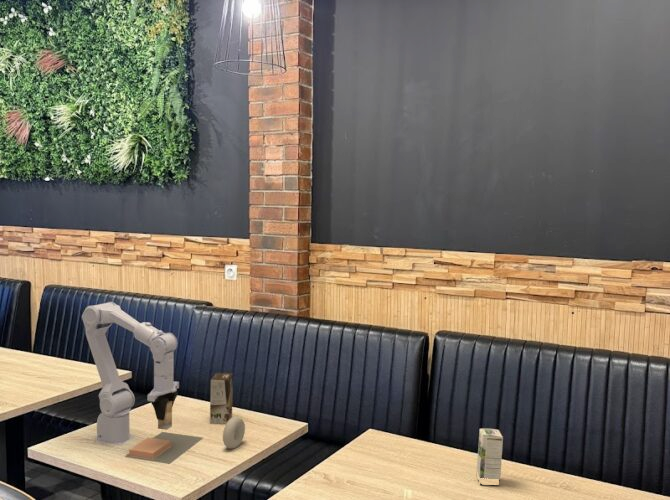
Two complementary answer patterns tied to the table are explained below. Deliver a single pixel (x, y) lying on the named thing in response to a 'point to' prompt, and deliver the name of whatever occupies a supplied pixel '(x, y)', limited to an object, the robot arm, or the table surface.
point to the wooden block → (166, 417)
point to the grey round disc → (233, 432)
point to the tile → (149, 448)
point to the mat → (173, 446)
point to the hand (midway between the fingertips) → (163, 417)
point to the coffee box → (221, 398)
